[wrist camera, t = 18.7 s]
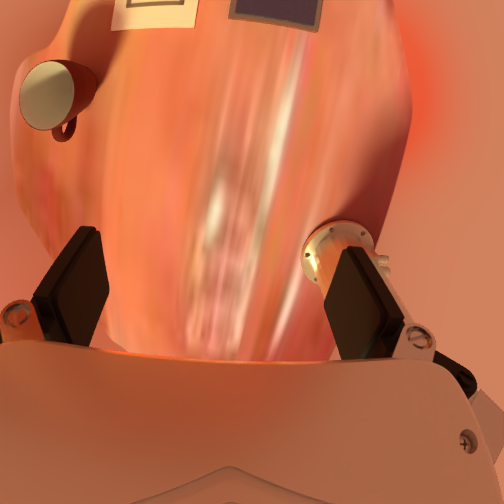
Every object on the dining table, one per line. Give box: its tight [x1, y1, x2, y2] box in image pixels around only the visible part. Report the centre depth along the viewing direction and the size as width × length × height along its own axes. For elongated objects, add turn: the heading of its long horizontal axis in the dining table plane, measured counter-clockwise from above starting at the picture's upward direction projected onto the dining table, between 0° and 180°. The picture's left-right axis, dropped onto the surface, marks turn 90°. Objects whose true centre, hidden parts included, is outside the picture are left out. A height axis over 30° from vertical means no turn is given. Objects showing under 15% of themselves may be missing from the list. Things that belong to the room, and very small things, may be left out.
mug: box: [19, 60, 96, 142], centre depth 27 cm, size 11×8×10 cm
